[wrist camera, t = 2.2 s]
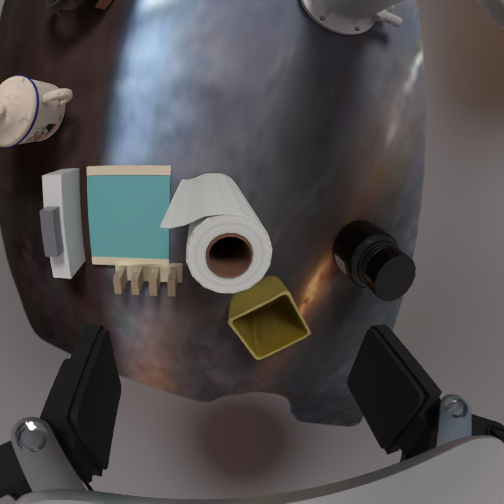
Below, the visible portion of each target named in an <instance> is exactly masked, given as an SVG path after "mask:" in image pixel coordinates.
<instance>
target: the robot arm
mask: <svg viewBox="0 0 504 504" xmlns="http://www.w3.org/2000/svg"><path fill="white" fill-rule="evenodd" d="M401 1H403V0H300V2H301V4H302V6H303V8H304V10H305V11H306V12H307V14H308V15H309V16H310V17H311V18H312V19H313V20H314V21H315V22H316V23H318V24H319V25H321V26H322V27H324V28H326V29H327V30H329V31H332V32H335V33H337V34H342V35H358V34H361V33H363V32H365V31H367V30H369V29H370V28H371V27H372V26H373V24H374V23H375V21H376V20H378V21H385V22H387V23H389V24H391V25H394V26H396V27H400V26H401V24H402V19H401V18H400V17H398V16H396V15H394V14H391V13H388V12H386V10H385V9H388V10H390V11H393V10H394V7H395V6H394V5H395V4H397V3H399V2H401ZM477 2H478V3H479V4H480V5H481V6H482V8H483V9H484V10H485V11H486V13H487V14H488V15H489V16H490V18H491V19H492V20H493V21H494V22H495V23H496V24H497V25H499V26H500V27H501V28H503V29H504V0H477ZM320 19H321V20H320ZM347 384H348V387H349V389H350V391H351V393H352V395H353V397H354V398H355V400H356V402H357V404H358V406H359V408H360V410H361V411H362V413H363V415H364V417H365V419H366V421H367V423H368V424H369V426H370V428H371V430H372V432H373V434H374V436H375V438H376V440H377V441H378V443H379V445H380V447H381V448H383V449H385V451H386V453H387V454H390V453H393V452H396V451H398V450H399V449H401V450H402V456H401V460H400V462H399V463H397V464H394V465H391V466H388V467H385V468H383V469H380V470H377V471H374V472H371V473H367V474H364V475H361V476H358V477H354V478H351V479H347V480H343V481H339V482H336V483H331V484H327V485H323V486H319V487H314V488H309V489H304V490H298V491H293V492H287V493H281V494H273V495H265V496H256V497H246V498H231V499H166V498H149V497H139V496H130V495H121V494H114V493H105V492H98V491H95V490H94V489H93V487H92V486H91V484H90V483H89V482H91V481H92V476H93V475H97V476H102V471H103V469H105V470H106V469H107V468H108V463H109V456H110V449H111V442H112V437H113V431H114V426H115V419H116V415H117V410H118V405H119V400H120V395H121V383H120V379H119V375H118V371H117V367H116V362H115V358H114V353H113V349H112V344H111V339H110V334H109V331H108V330H104V327H103V326H102V325H95V324H86V326H85V328H84V330H83V332H82V334H81V336H80V338H79V340H78V342H77V344H76V347H75V349H74V351H73V353H72V355H71V358H70V359H65V360H64V361H63V363H62V365H61V367H60V370H59V372H58V374H57V376H56V379H55V381H54V384H53V386H52V388H51V391H50V393H49V395H48V398H47V401H46V403H45V406H44V408H43V411H42V413H41V416H40V418H37V417H27V418H23V419H21V420H19V421H18V422H17V423H16V424H15V425H14V426H13V428H12V431H11V441H9V442H7V443H5V444H2V445H0V504H504V426H503V425H502V424H500V423H498V422H496V421H492V420H489V419H486V418H482V417H479V416H476V415H473V414H471V407H470V406H469V403H468V402H467V401H466V400H465V399H464V398H462V397H461V396H459V395H456V394H447V395H446V396H444V397H443V398H442V399H440V398H439V396H440V395H441V393H442V391H441V390H440V389H439V388H438V386H437V385H436V384H435V383H434V381H433V380H432V379H431V378H430V377H429V375H428V374H427V373H426V371H425V370H424V369H423V368H422V366H421V365H420V364H419V363H418V362H417V360H416V359H415V358H414V357H413V356H412V354H411V353H410V352H409V351H408V349H407V348H406V347H405V346H404V345H403V344H402V342H401V341H400V340H399V339H398V338H397V336H396V335H395V334H394V333H393V332H392V331H391V329H390V328H389V327H388V326H387V325H373V326H371V327H370V329H369V330H367V332H366V334H365V337H364V339H363V342H362V345H361V347H360V350H359V352H358V355H357V357H356V360H355V362H354V365H353V367H352V369H351V372H350V374H349V377H348V379H347Z"/></svg>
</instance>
